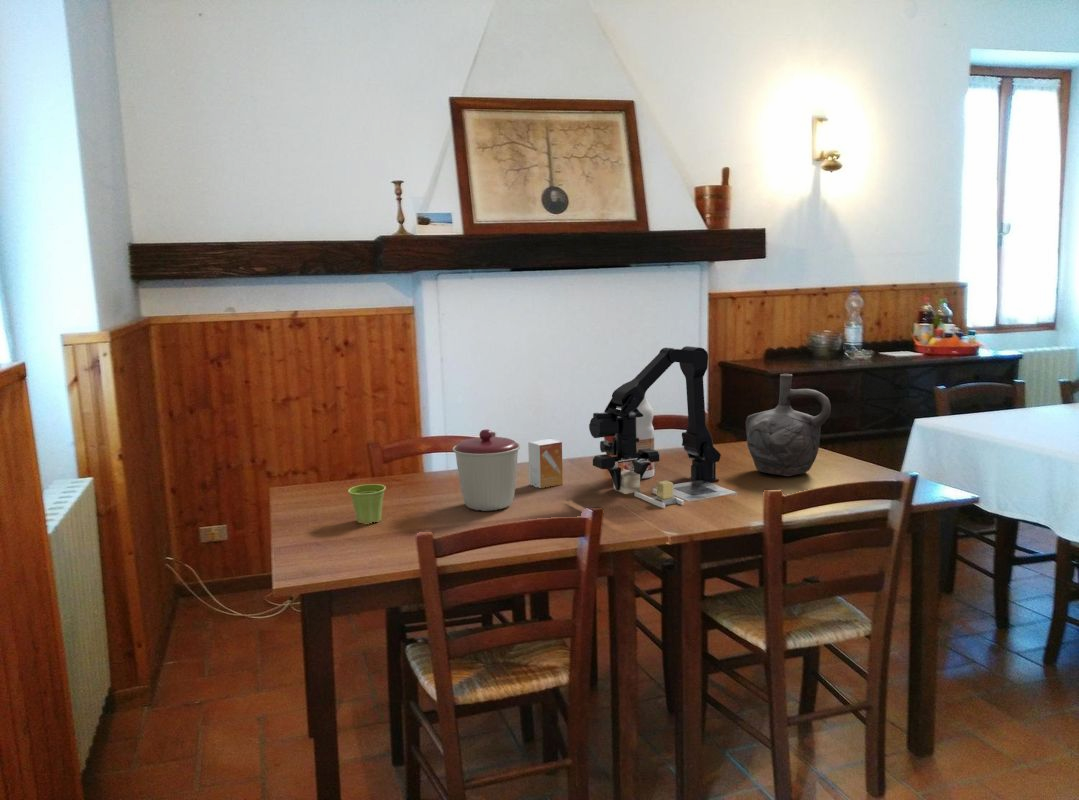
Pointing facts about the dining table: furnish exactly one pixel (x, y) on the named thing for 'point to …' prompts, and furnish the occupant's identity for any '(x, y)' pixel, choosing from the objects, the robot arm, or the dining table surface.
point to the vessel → (786, 433)
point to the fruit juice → (644, 435)
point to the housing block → (629, 482)
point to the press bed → (699, 490)
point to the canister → (487, 471)
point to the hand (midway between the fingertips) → (626, 488)
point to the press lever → (665, 493)
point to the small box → (545, 463)
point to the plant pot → (367, 502)
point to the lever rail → (656, 500)
